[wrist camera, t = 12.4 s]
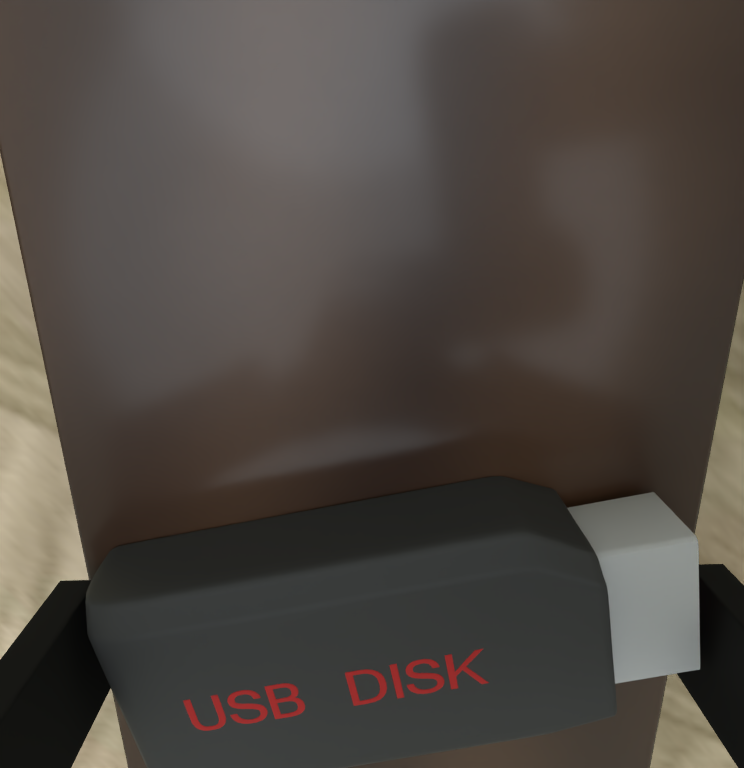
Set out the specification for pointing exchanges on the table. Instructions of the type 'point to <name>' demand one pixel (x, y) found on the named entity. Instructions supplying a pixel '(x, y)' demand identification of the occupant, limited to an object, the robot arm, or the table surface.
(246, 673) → the usb drive
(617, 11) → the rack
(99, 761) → the table surface
